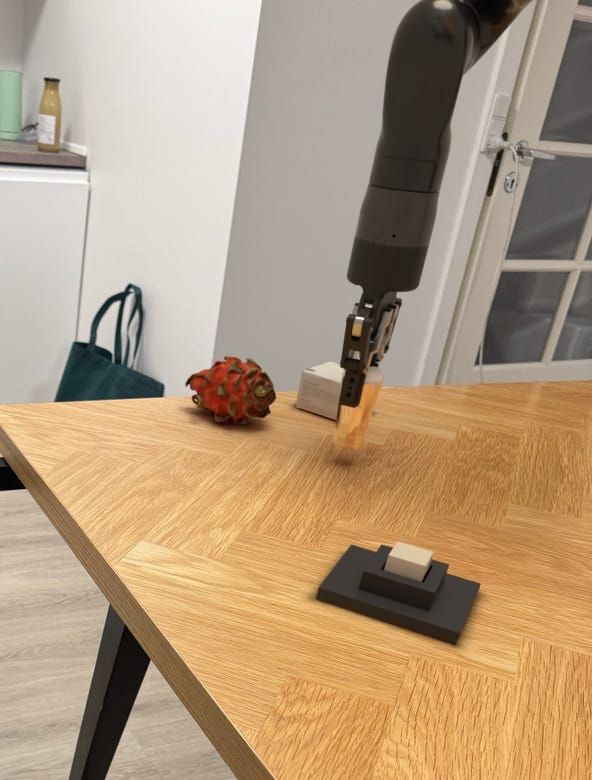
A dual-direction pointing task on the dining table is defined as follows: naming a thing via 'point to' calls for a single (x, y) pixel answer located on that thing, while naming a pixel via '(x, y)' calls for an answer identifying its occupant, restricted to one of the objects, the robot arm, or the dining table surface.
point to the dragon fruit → (233, 390)
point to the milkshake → (357, 412)
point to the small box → (320, 389)
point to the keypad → (400, 594)
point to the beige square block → (408, 561)
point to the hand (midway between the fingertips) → (355, 399)
